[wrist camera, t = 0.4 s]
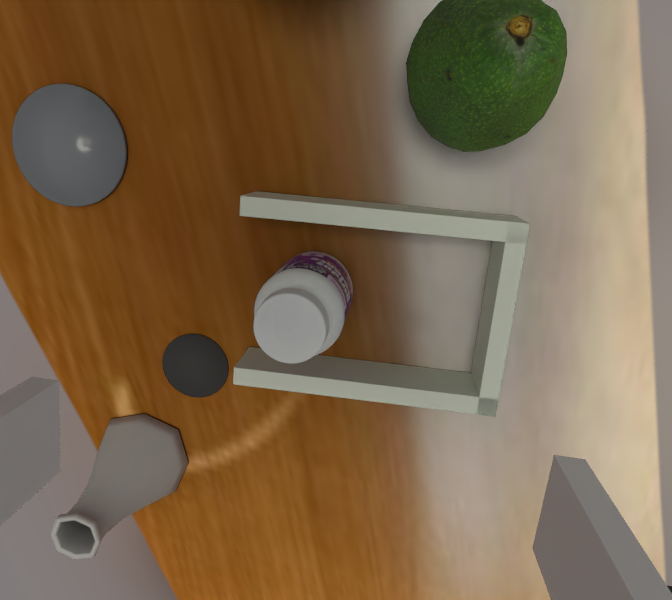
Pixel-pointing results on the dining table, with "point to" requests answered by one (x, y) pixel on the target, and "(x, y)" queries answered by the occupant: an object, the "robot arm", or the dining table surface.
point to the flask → (121, 482)
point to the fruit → (485, 70)
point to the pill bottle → (302, 307)
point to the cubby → (393, 379)
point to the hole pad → (195, 365)
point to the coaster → (69, 145)
